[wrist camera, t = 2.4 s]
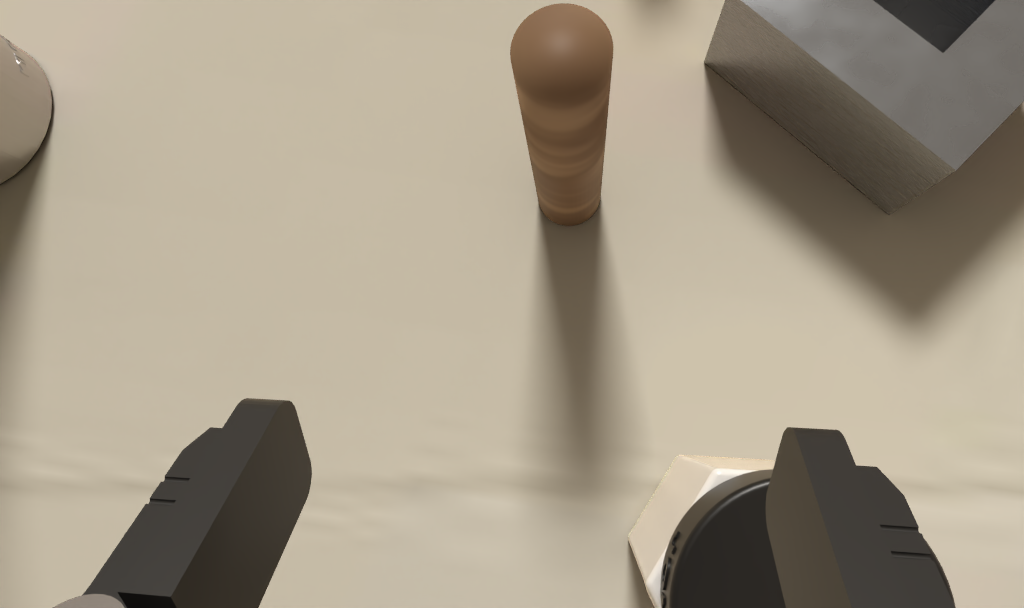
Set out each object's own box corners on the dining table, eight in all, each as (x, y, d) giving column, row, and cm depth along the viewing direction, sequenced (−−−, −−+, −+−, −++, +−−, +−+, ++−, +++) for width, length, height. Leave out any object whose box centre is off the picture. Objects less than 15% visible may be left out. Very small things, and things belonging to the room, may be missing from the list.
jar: (600, 494, 32) (611, 538, 20) (752, 415, 32) (851, 414, 20) (695, 679, 30) (767, 843, 19) (856, 596, 30) (1031, 708, 19)
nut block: (889, 214, 33) (956, 170, 27) (703, 62, 35) (728, -10, 29) (1053, 46, 34) (1154, -34, 28) (861, -94, 36) (916, -195, 30)
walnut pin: (569, 238, 34) (561, 118, 21) (525, 196, 35) (489, 53, 21) (613, 194, 35) (634, 46, 21) (568, 154, 35) (560, -16, 21)
